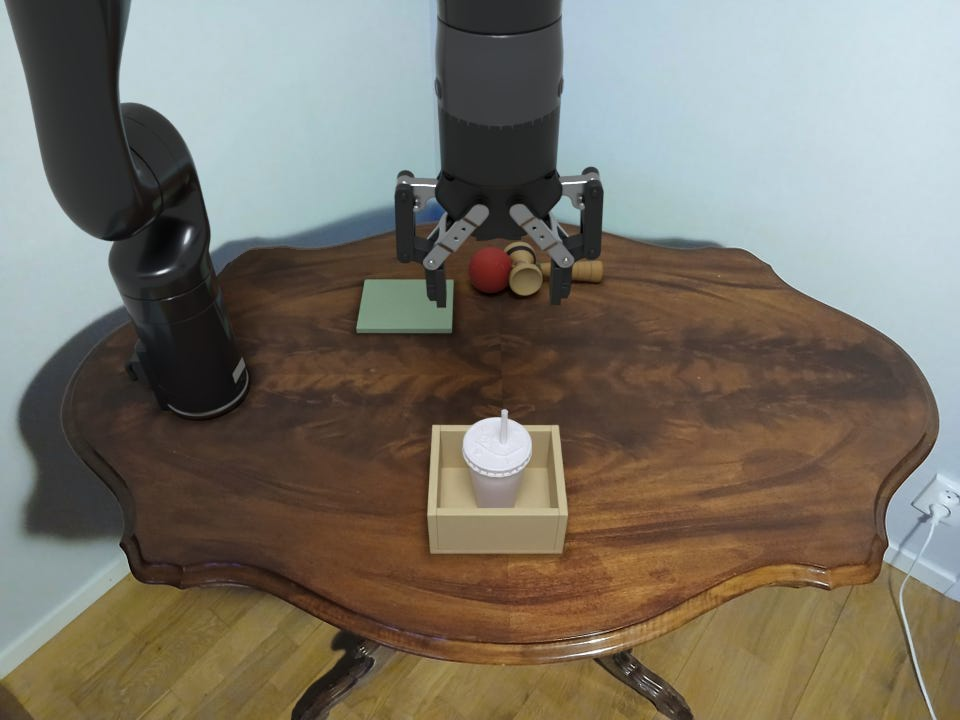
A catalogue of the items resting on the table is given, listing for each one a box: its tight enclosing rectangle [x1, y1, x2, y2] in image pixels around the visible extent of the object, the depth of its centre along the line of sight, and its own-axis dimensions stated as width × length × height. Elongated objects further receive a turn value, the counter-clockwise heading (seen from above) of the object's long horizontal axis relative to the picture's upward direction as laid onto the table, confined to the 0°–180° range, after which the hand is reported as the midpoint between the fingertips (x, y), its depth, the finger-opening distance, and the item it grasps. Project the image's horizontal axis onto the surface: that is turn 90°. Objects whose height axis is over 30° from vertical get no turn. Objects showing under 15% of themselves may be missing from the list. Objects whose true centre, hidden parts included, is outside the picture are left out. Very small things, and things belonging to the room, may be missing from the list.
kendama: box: [467, 241, 604, 297], centre depth 97 cm, size 8×6×18 cm
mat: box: [356, 278, 455, 334], centre depth 95 cm, size 12×10×1 cm
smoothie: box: [462, 409, 532, 508], centre depth 68 cm, size 6×6×14 cm
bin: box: [426, 424, 569, 555], centre depth 71 cm, size 13×11×6 cm
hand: (497, 300), depth 55 cm, fingers open, 8 cm apart
